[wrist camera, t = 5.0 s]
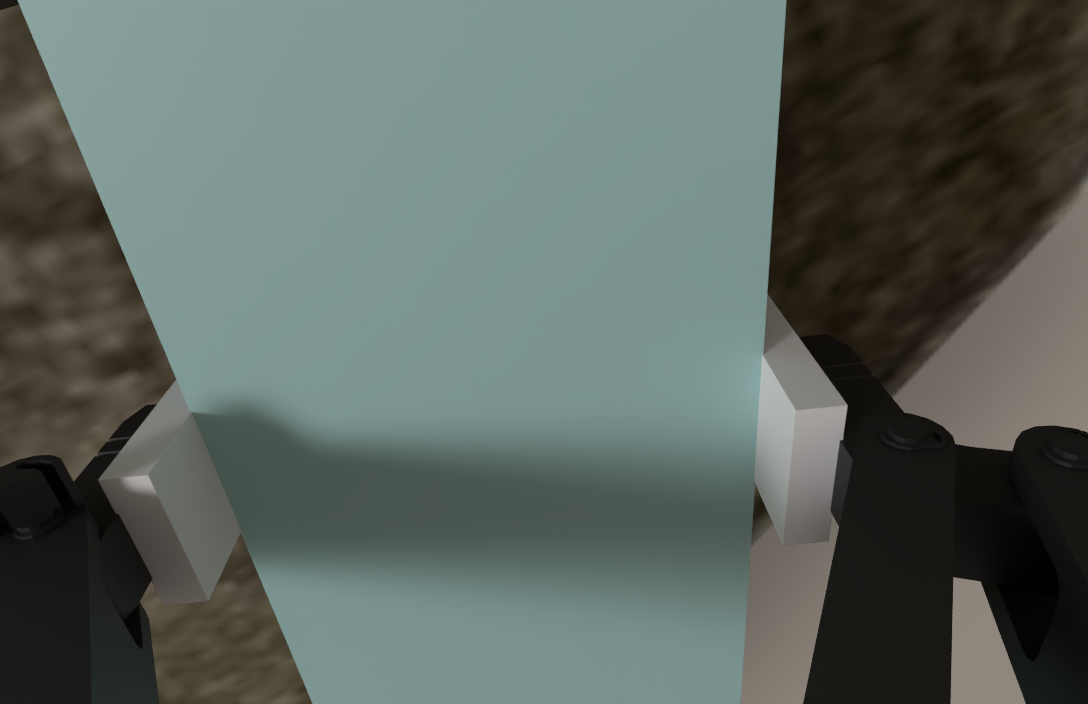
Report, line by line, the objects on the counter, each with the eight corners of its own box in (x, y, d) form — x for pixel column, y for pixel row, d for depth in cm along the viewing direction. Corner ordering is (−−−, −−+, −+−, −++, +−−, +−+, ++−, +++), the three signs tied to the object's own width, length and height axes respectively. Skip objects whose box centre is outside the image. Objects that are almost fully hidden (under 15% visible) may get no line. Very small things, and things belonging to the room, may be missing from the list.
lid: (360, 652, 20) (336, 761, 17) (100, -103, 11) (-31, -118, 8) (709, 619, 19) (739, 724, 17) (731, -175, 11) (800, -213, 8)
